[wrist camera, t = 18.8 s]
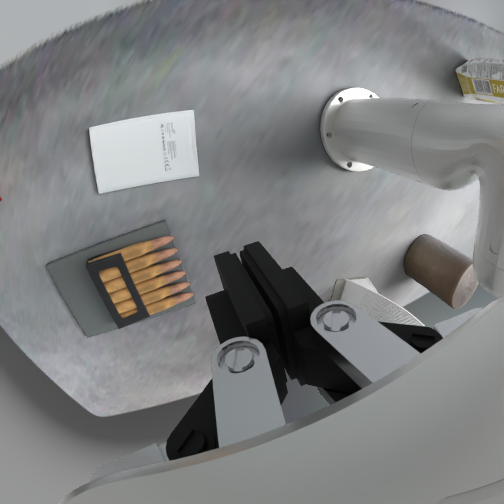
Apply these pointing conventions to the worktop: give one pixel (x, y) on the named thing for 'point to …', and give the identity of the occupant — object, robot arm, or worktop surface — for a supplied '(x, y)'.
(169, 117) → the external hard drive
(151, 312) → the ammunition clip
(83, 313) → the mat
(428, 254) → the pillar candle
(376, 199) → the worktop surface
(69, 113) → the worktop surface
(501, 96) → the juice carton
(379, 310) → the skyscraper
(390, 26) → the worktop surface
